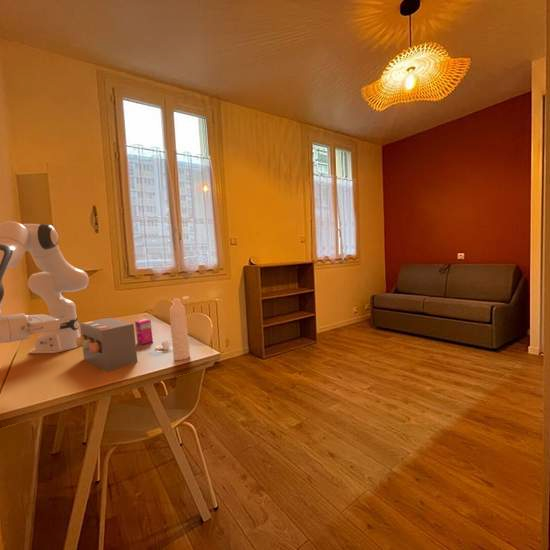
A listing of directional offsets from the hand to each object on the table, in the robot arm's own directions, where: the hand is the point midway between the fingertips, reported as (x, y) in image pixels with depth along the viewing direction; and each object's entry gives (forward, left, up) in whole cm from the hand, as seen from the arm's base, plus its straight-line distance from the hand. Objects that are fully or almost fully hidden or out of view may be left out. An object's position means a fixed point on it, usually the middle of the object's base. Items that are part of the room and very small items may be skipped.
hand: (67, 318), depth 113 cm
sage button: (0, +11, -15) cm, 19 cm away
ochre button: (-6, +17, -15) cm, 23 cm away
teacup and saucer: (+25, +29, -23) cm, 45 cm away
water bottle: (+37, +13, -22) cm, 45 cm away
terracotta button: (+5, +5, -15) cm, 17 cm away
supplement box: (+11, +40, -22) cm, 47 cm away
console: (+5, +16, -22) cm, 28 cm away
